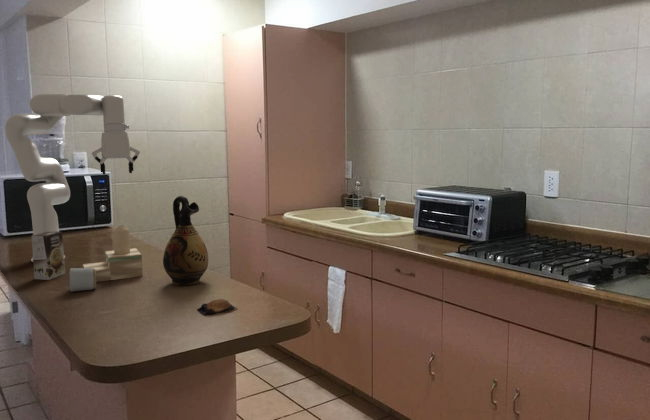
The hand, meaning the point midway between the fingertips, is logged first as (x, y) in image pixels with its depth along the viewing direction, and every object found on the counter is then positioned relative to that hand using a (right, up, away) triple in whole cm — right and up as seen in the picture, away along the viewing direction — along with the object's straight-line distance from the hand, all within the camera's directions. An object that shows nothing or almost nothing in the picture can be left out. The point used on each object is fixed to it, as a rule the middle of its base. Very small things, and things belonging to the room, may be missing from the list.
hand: (117, 173), depth 219 cm
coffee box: (-21, -39, -10) cm, 45 cm away
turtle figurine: (+48, -44, -50) cm, 82 cm away
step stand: (+2, -38, -9) cm, 39 cm away
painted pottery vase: (+31, -39, -19) cm, 54 cm away
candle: (+5, -30, -9) cm, 32 cm away
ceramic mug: (-2, -41, -27) cm, 49 cm away
